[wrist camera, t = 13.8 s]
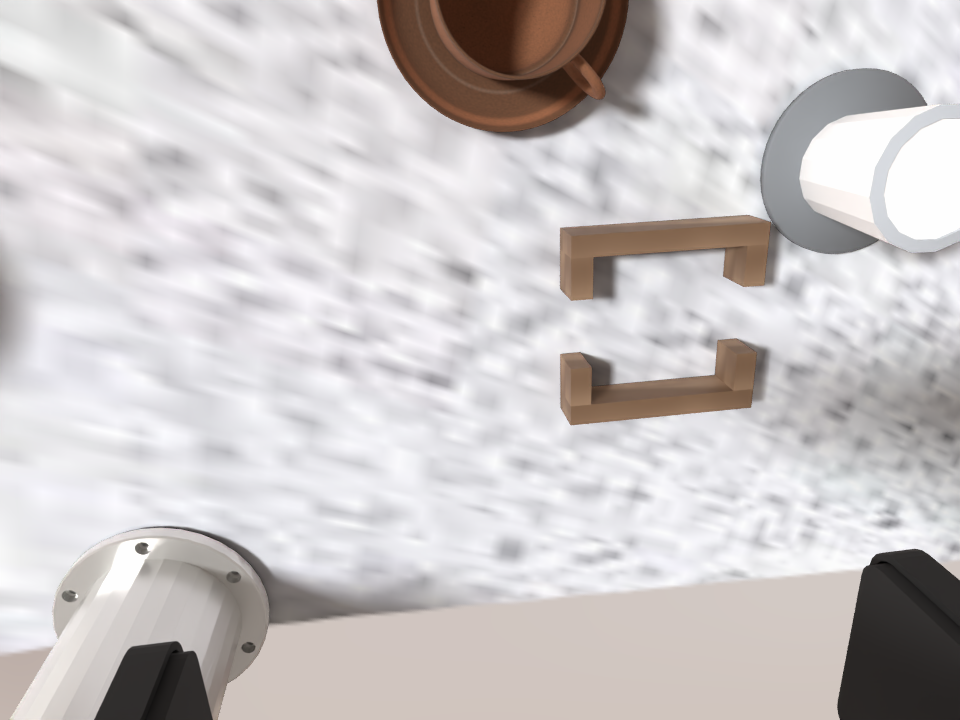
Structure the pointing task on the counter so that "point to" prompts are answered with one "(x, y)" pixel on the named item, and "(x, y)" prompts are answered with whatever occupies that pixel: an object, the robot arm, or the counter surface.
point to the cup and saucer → (503, 55)
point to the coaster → (794, 136)
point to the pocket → (733, 357)
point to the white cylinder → (890, 175)
